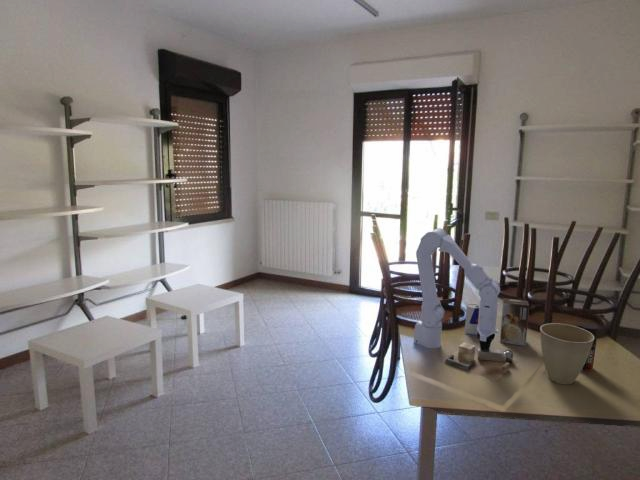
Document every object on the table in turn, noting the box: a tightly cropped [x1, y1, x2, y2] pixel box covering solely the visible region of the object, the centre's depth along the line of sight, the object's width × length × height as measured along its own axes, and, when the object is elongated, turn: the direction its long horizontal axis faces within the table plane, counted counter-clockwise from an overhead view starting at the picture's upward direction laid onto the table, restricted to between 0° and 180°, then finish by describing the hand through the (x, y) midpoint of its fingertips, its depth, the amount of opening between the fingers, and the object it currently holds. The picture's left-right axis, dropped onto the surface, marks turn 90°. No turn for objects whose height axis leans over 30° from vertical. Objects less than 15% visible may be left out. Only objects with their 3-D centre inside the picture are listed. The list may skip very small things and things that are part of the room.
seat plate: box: [441, 348, 518, 382], centre depth 149 cm, size 19×18×4 cm
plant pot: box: [539, 322, 594, 385], centre depth 139 cm, size 15×15×16 cm
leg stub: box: [458, 341, 476, 363], centre depth 150 cm, size 4×4×5 cm
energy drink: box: [464, 303, 480, 338], centre depth 174 cm, size 5×5×12 cm
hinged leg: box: [476, 348, 514, 363], centre depth 150 cm, size 11×3×3 cm, turn 79°
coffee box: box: [499, 297, 530, 347], centre depth 167 cm, size 9×6×16 cm
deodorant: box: [576, 321, 599, 372], centre depth 147 cm, size 6×6×15 cm
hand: (484, 353), depth 153 cm, fingers closed, pressing on hinged leg
